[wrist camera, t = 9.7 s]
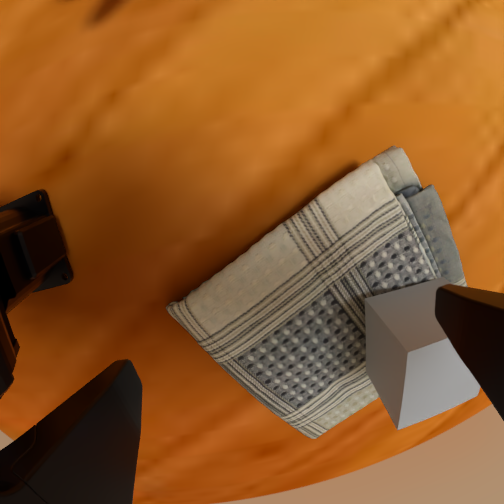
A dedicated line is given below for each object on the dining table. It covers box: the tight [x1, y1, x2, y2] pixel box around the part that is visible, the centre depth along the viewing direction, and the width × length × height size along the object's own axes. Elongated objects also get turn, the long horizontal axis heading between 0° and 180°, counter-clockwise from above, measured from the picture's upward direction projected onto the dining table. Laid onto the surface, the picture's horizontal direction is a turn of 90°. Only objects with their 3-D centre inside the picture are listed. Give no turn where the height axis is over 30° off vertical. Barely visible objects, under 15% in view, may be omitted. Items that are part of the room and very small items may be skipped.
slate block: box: [365, 277, 480, 430], centre depth 17 cm, size 6×6×6 cm
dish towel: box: [166, 146, 468, 439], centre depth 21 cm, size 19×18×3 cm
